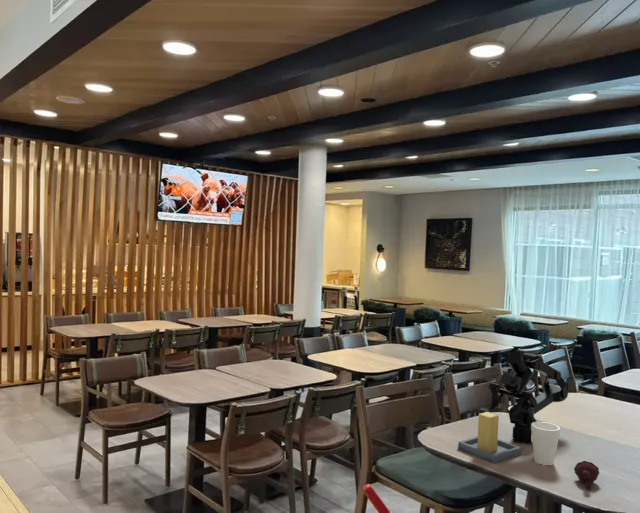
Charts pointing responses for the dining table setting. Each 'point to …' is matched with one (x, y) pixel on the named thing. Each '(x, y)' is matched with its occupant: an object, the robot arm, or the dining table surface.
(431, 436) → the dining table surface
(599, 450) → the dining table surface
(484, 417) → the block
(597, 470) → the icecream
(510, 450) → the tray
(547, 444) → the foam cup
